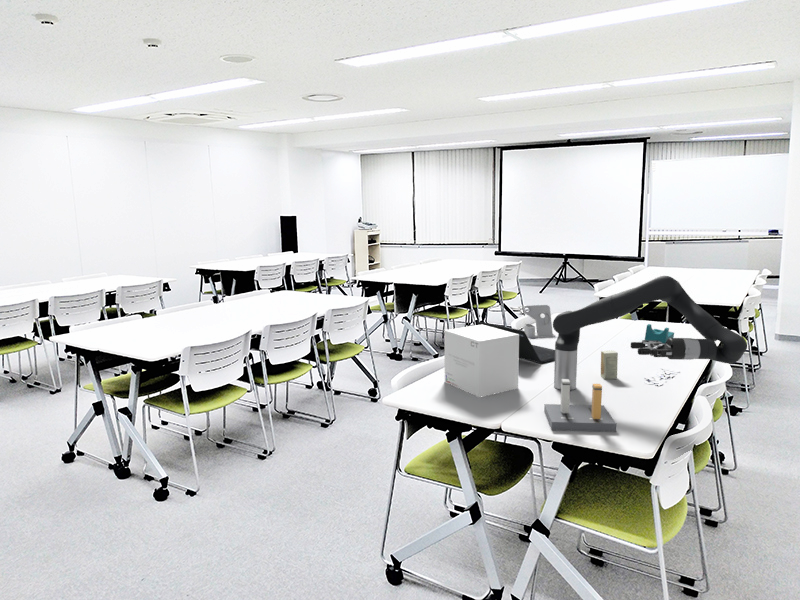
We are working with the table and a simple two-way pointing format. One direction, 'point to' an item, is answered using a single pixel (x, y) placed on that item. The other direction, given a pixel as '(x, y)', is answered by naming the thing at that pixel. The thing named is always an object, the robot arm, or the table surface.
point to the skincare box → (609, 364)
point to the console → (578, 418)
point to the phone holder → (539, 321)
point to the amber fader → (596, 401)
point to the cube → (481, 359)
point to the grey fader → (565, 395)
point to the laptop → (527, 346)
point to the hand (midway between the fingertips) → (634, 348)
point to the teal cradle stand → (658, 334)
